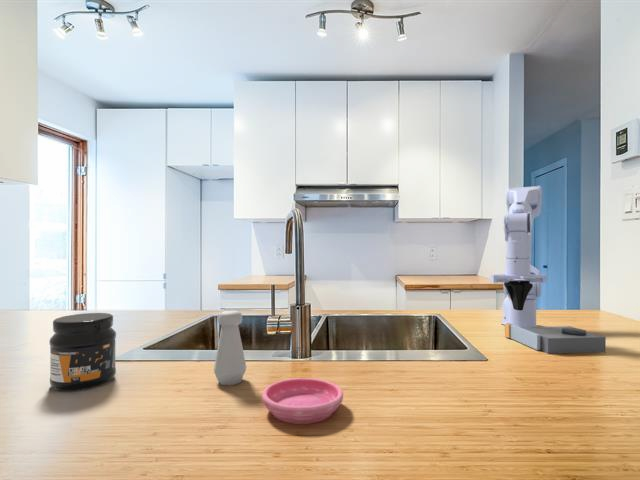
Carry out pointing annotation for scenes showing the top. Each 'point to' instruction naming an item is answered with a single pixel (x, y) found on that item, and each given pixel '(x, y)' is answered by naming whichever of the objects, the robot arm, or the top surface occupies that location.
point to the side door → (522, 336)
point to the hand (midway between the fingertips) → (518, 309)
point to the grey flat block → (568, 340)
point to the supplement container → (82, 351)
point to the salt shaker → (230, 350)
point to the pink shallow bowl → (302, 400)
